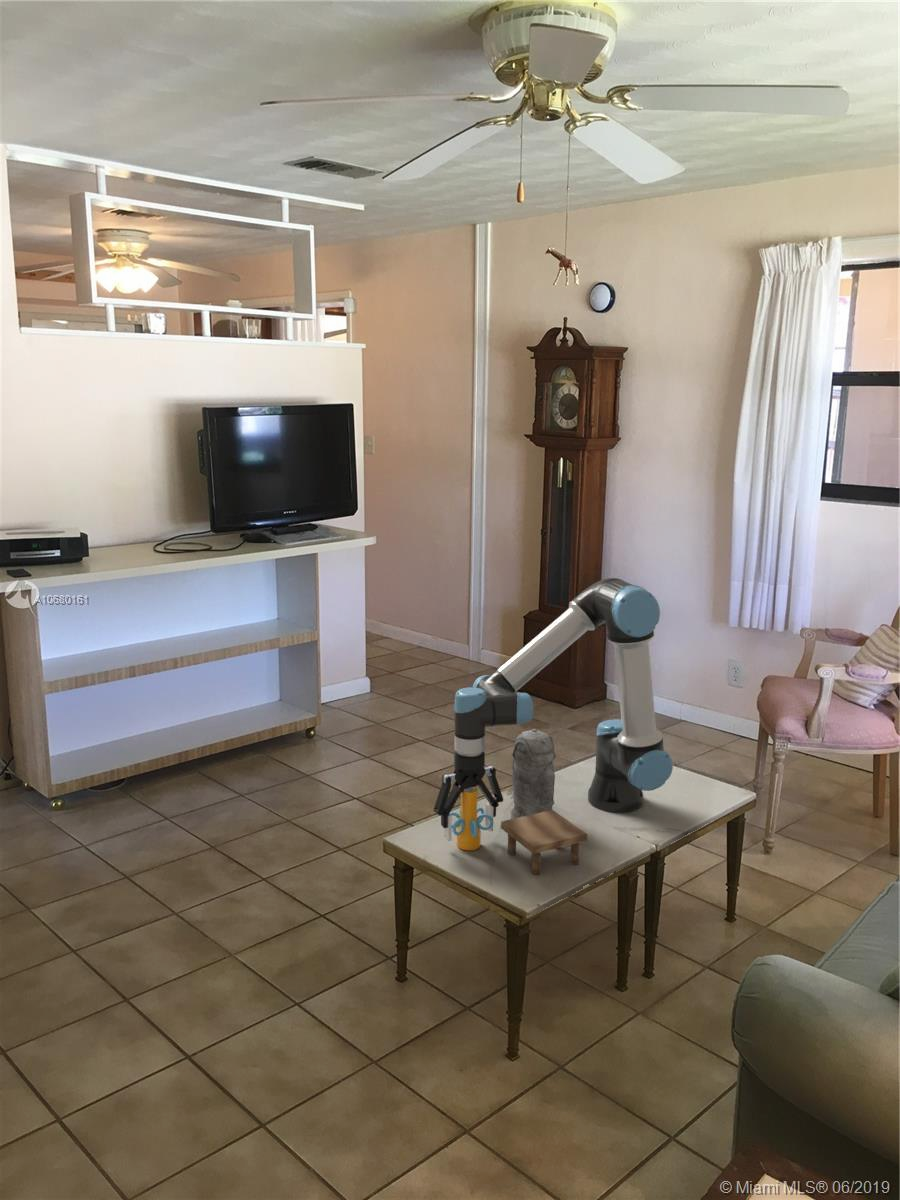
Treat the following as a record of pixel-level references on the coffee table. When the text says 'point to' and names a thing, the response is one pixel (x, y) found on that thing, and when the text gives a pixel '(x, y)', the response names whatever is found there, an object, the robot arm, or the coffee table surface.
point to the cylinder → (469, 821)
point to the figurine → (533, 774)
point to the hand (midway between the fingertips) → (468, 833)
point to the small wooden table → (543, 835)
